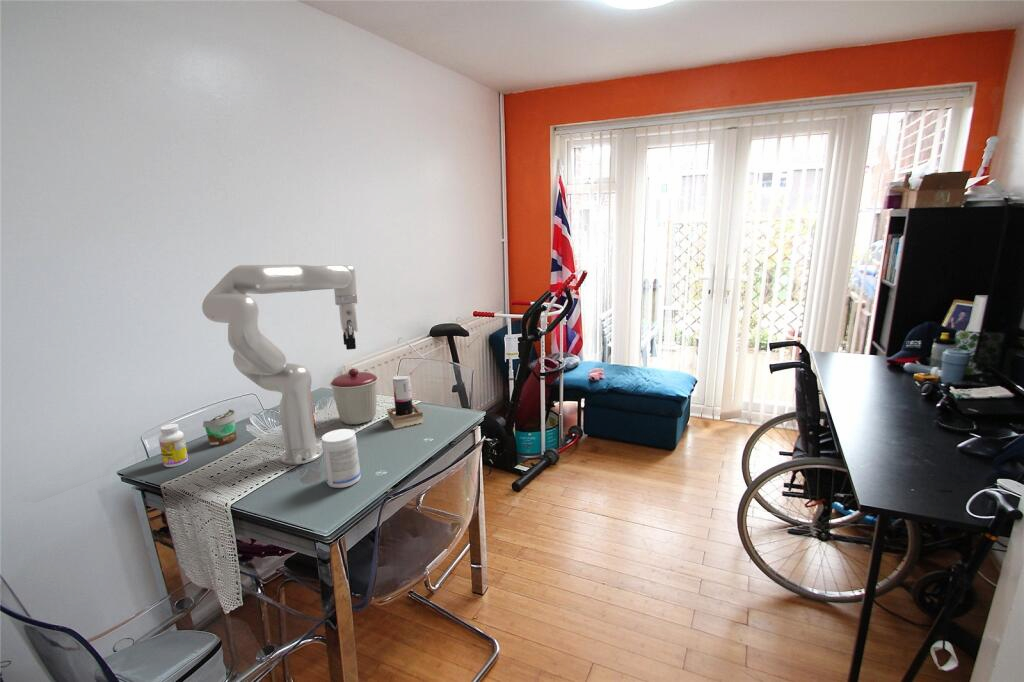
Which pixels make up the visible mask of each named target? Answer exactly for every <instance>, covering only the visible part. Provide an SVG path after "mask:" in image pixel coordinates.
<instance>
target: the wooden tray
mask: <svg viewBox="0 0 1024 682" xmlns="http://www.w3.org/2000/svg"><path fill="white" fill-rule="evenodd" d="M412 407H413V413H412V414H408V415H403V416H397V415H396V412H395V407H392V408H388V409H387V419H388V421H389V423H390V424H391V426H392V427H393V429H395V430H396V429H400V428H401V429H402V428H405V426H406V427H410V425H411V426H415V425H414V424H416V425H420V424H419V423H421V424H424V417H423V416H424V415H423V412H422V411H421V409H420V408H419V407H418V406H417V405H416V404H415V403H412Z"/></svg>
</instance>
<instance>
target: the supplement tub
mask: <svg viewBox="0 0 1024 682" xmlns="http://www.w3.org/2000/svg"><path fill="white" fill-rule="evenodd" d="M356 436H357V435H356V432H355V430H353V429H349V428H340V429H334V430H330V431H328V432H326V433H325V434H322V436H321V438H320V439H321V448H322V456H323V463H324V464H323V465H324V470H325V479H326V483H327V485H328V486H329V487H331V488H336V489H341V488H342V489H343V488H347V487H348V488H349V487H351V486H353V485H354V484H356V483H357V482H358V481H359V480H360V479H361V476H362V475H361V467H360V466H361V465H360V459H359V450H358V444H357V443H358V442H357V437H356Z"/></svg>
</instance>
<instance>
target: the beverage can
mask: <svg viewBox="0 0 1024 682" xmlns="http://www.w3.org/2000/svg"><path fill="white" fill-rule="evenodd" d="M411 383H412V381H411V377H410V375H408V374H397V375H395V376H393V377H392V386H393V398H394V399H393V400H394V408H395V412H396V415H397V416H403V415H408V414H412V413H413V407H412V405H413V396H412V385H411Z"/></svg>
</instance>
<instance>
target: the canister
mask: <svg viewBox="0 0 1024 682" xmlns="http://www.w3.org/2000/svg"><path fill="white" fill-rule="evenodd" d="M378 381H379V376H378V375H375V374H373V373H370V372H367V371H364V372H363V371H359V370H358V369H357V368H350V369H349V370H348V373H344V374H341V375H338V376H336V377H334V378H333V379H331V380H330V382H329V385H330V386H329V387H331V388H332V393H333V397H334V401H335V405H336V410H337V414H338V417H339V419H340V418H341V419H340V421H341V420H342V421H343V423H344V424H345V425H346V424H347V425H352V424H353V425H354V424H355V425H360V424H361V423H362V424H365V422H366V423H369V422H371V421H372V420H373V419H374V418H375V416H376V414H377V402H378V401H377V395H378V394H377V393H378V391H377V390H378ZM362 424H361V425H362Z"/></svg>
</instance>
